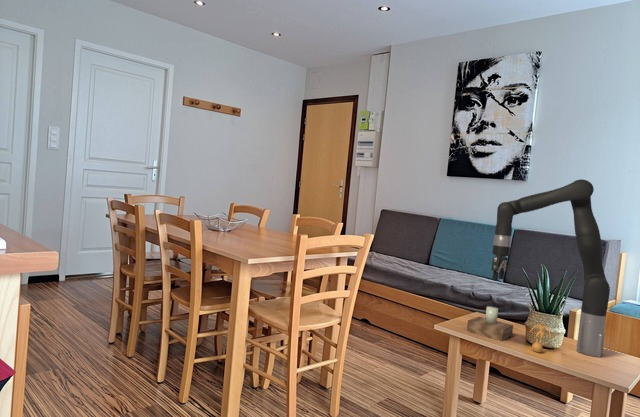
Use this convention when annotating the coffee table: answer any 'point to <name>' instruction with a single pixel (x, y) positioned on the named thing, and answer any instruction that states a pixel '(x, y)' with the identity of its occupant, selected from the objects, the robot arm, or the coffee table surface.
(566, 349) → the coffee table surface
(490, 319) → the sage canister
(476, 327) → the walnut box
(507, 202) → the robot arm
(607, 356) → the coffee table surface
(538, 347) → the figurine
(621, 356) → the coffee table surface
